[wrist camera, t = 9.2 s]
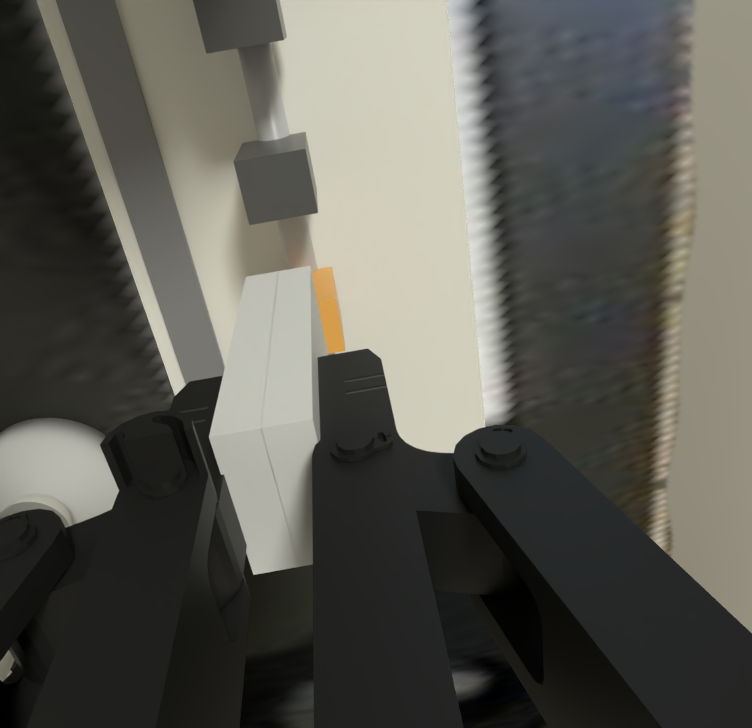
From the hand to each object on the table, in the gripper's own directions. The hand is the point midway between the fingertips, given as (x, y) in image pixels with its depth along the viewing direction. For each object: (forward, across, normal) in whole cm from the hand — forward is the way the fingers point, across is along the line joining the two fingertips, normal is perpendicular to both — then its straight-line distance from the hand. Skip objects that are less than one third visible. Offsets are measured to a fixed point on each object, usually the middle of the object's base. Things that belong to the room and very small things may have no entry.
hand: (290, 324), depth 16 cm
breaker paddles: (+7, 0, 0) cm, 7 cm away
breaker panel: (+12, 0, 0) cm, 12 cm away
